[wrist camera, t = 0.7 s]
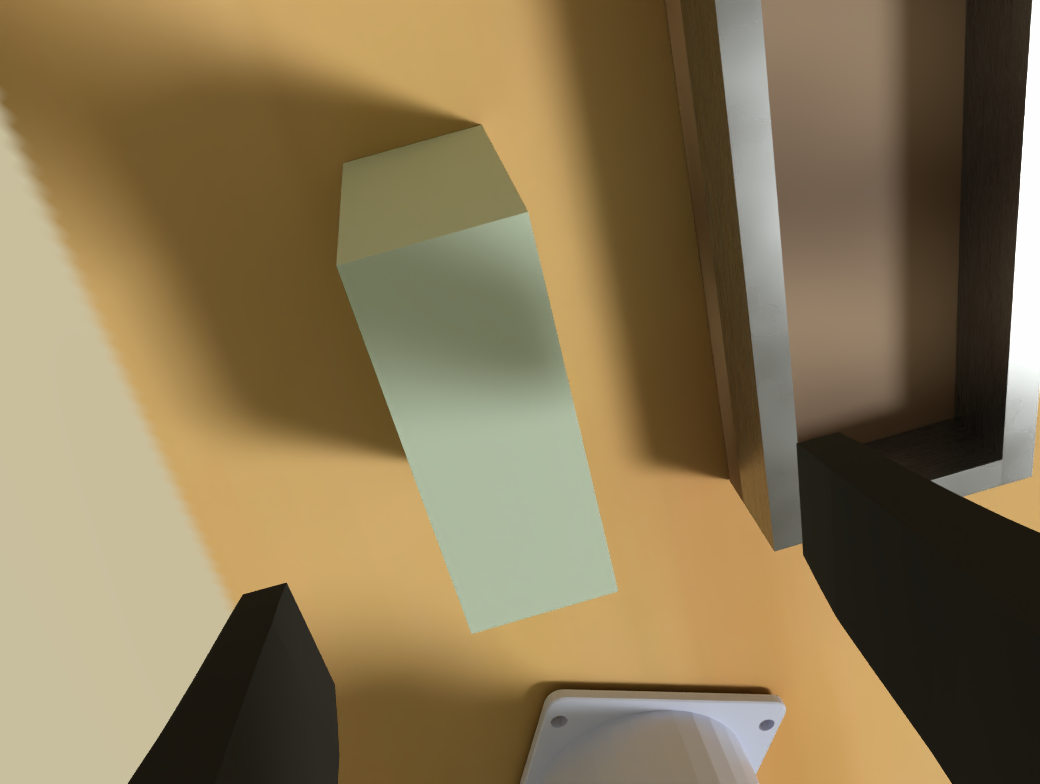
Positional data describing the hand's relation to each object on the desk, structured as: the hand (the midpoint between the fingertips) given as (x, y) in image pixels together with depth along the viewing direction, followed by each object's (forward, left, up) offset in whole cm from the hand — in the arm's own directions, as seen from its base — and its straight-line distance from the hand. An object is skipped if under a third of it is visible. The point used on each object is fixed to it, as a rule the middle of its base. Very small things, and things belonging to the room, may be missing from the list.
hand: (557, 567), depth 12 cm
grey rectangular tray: (+3, -8, -9) cm, 13 cm away
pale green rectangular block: (0, 0, -10) cm, 10 cm away
